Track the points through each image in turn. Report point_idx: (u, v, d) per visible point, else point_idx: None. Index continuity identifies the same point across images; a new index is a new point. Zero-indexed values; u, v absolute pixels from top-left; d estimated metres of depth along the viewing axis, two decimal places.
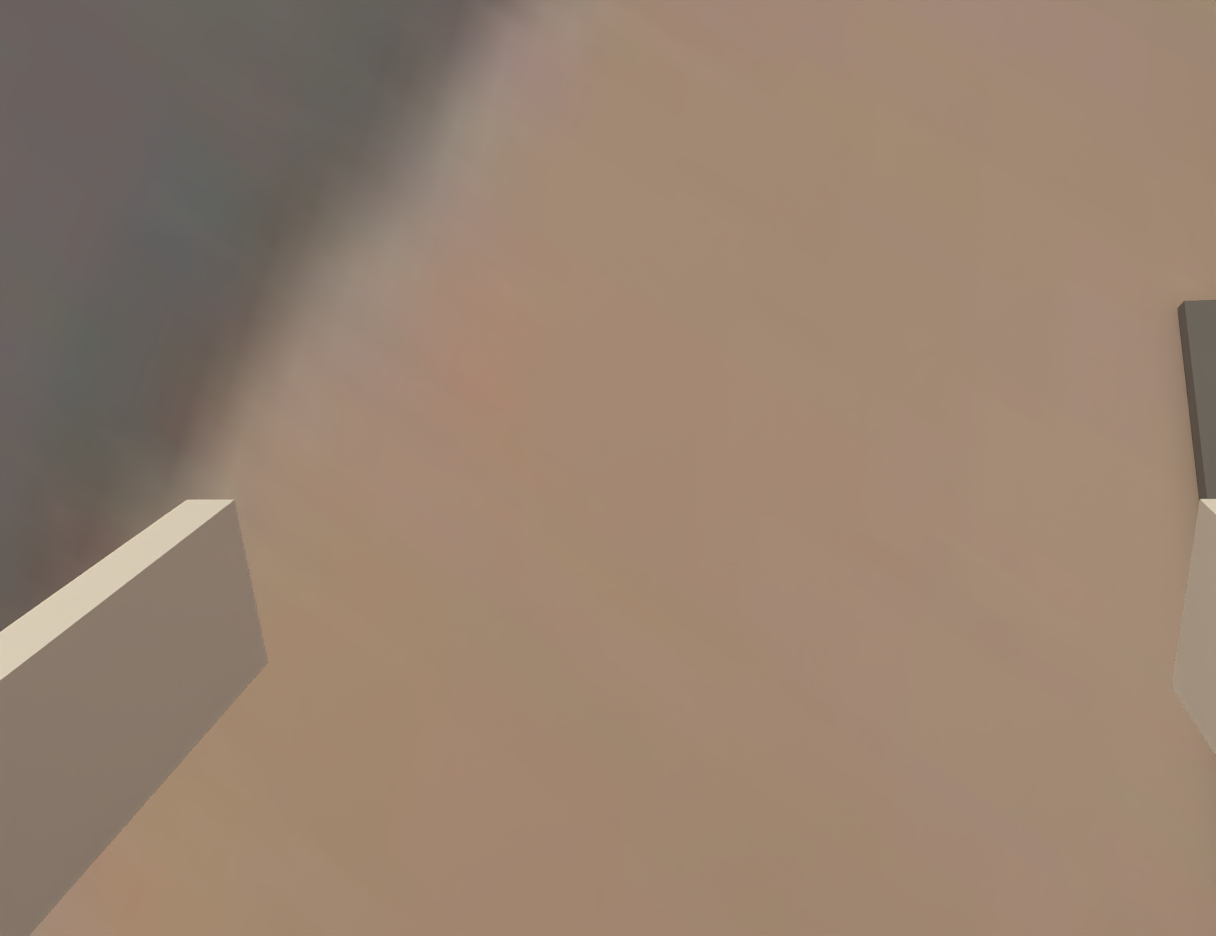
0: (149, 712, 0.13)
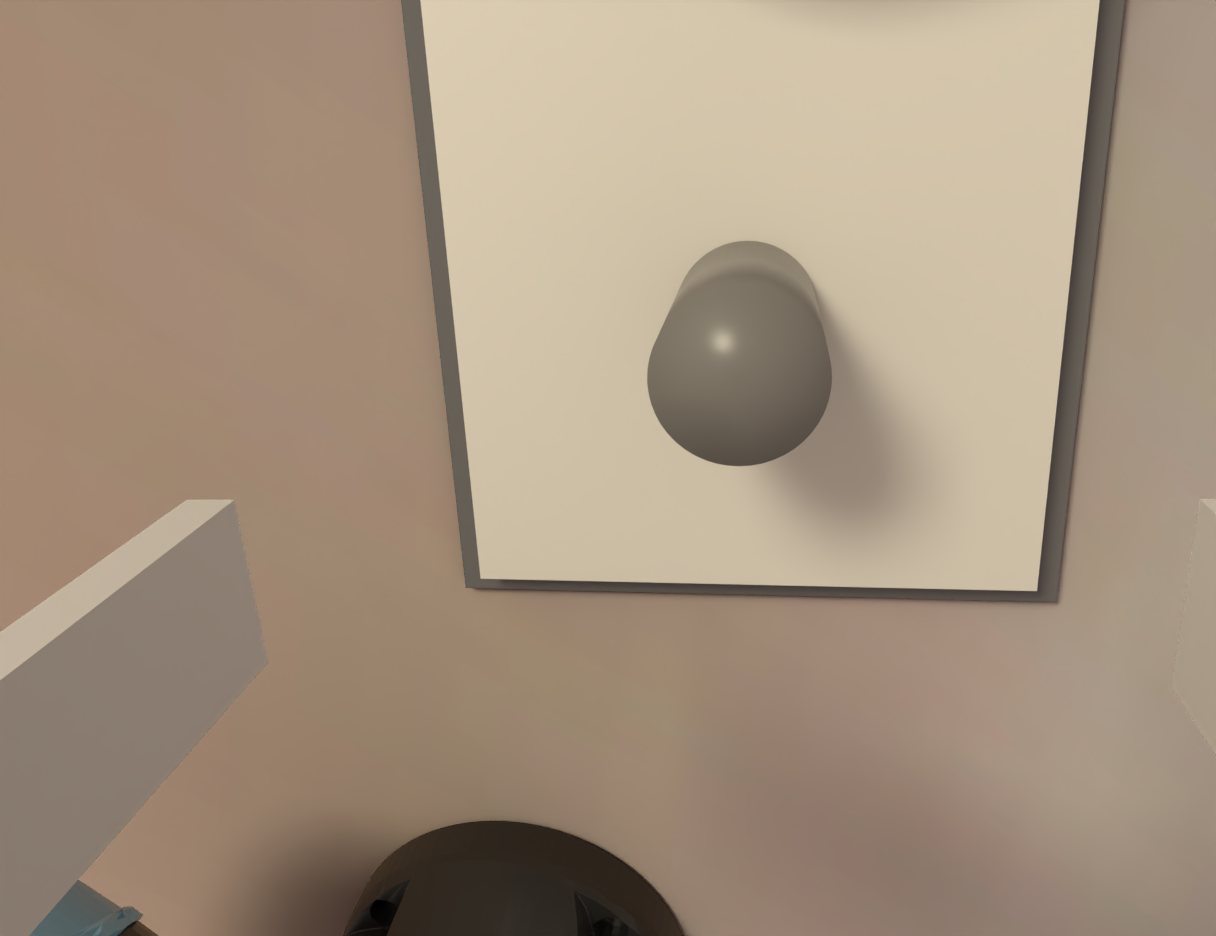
0: (149, 712, 0.13)
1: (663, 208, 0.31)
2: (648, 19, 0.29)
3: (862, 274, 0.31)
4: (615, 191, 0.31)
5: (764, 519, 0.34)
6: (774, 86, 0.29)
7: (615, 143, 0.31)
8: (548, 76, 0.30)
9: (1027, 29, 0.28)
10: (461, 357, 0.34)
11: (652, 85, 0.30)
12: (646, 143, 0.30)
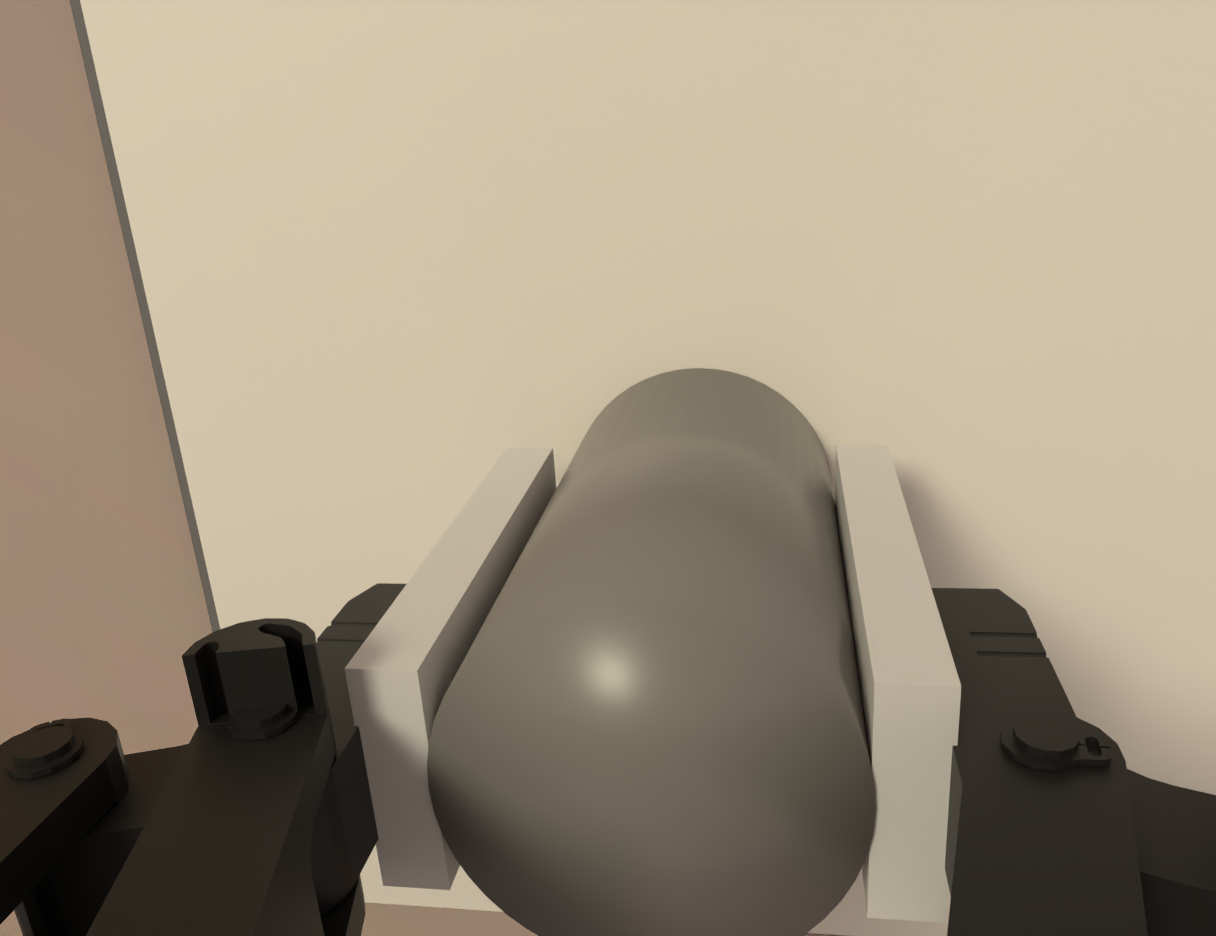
0: None
1: (542, 308, 0.17)
2: None
3: (916, 430, 0.16)
4: (452, 278, 0.17)
5: None
6: (742, 78, 0.15)
7: (446, 190, 0.16)
8: (312, 65, 0.16)
9: None
10: (211, 559, 0.19)
11: (508, 79, 0.15)
12: (503, 190, 0.16)
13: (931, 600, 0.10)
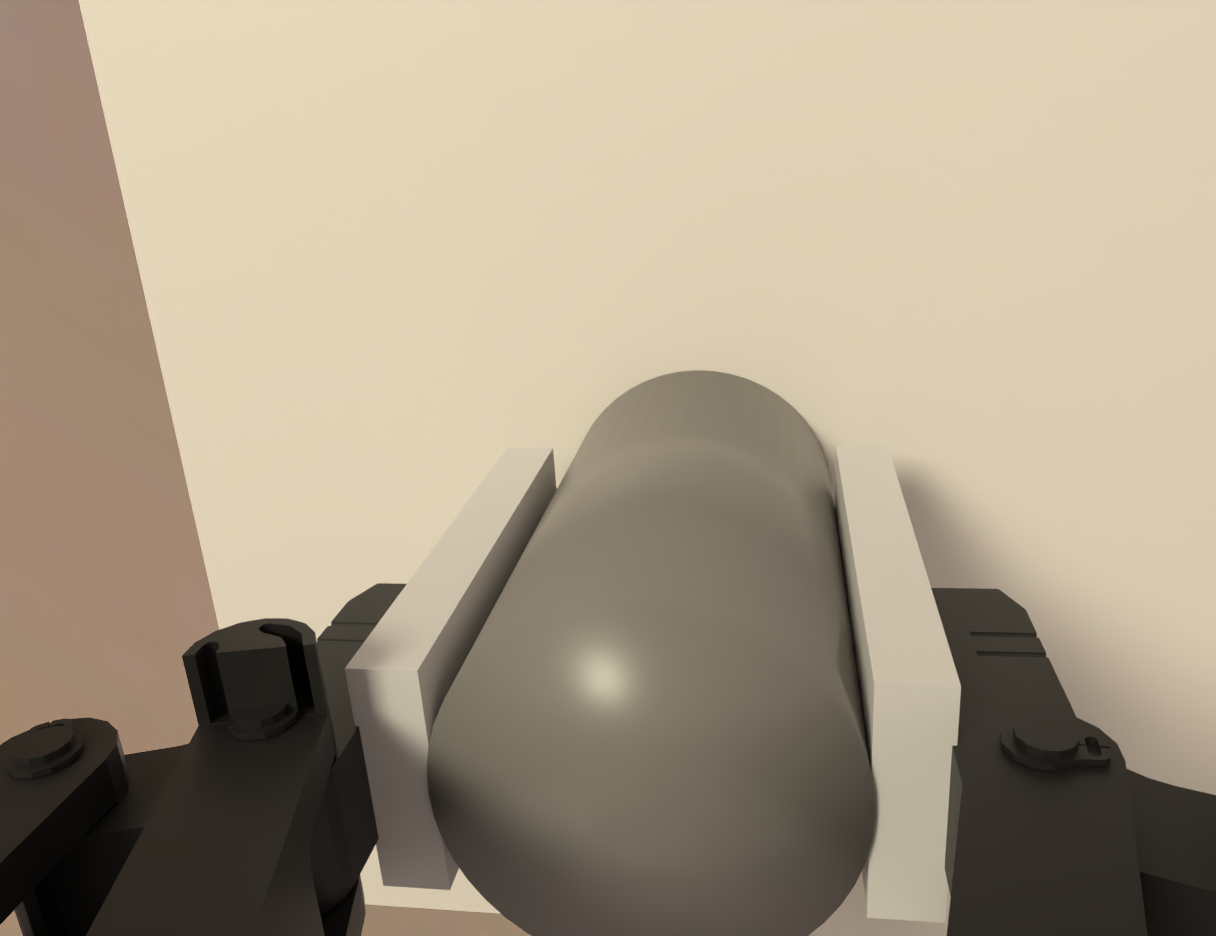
0: None
1: (542, 310, 0.17)
2: None
3: (916, 432, 0.16)
4: (452, 280, 0.17)
5: None
6: (742, 80, 0.15)
7: (445, 192, 0.16)
8: (312, 67, 0.16)
9: None
10: (211, 561, 0.19)
11: (507, 81, 0.15)
12: (503, 192, 0.16)
13: (931, 600, 0.10)
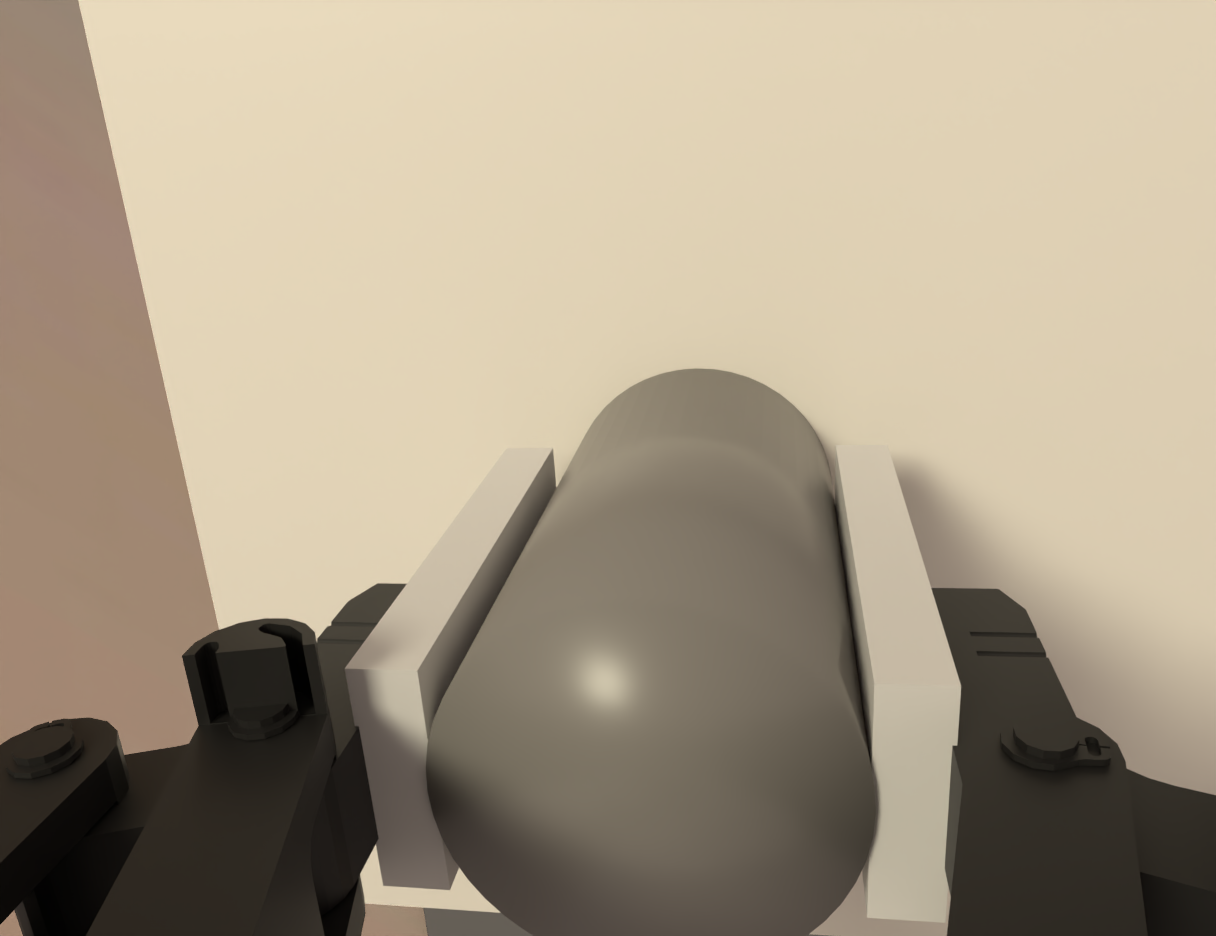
0: None
1: (541, 308, 0.17)
2: None
3: (917, 430, 0.16)
4: (451, 278, 0.17)
5: None
6: (742, 76, 0.15)
7: (445, 190, 0.16)
8: (311, 65, 0.16)
9: None
10: (210, 560, 0.19)
11: (507, 79, 0.15)
12: (502, 190, 0.16)
13: (931, 600, 0.10)
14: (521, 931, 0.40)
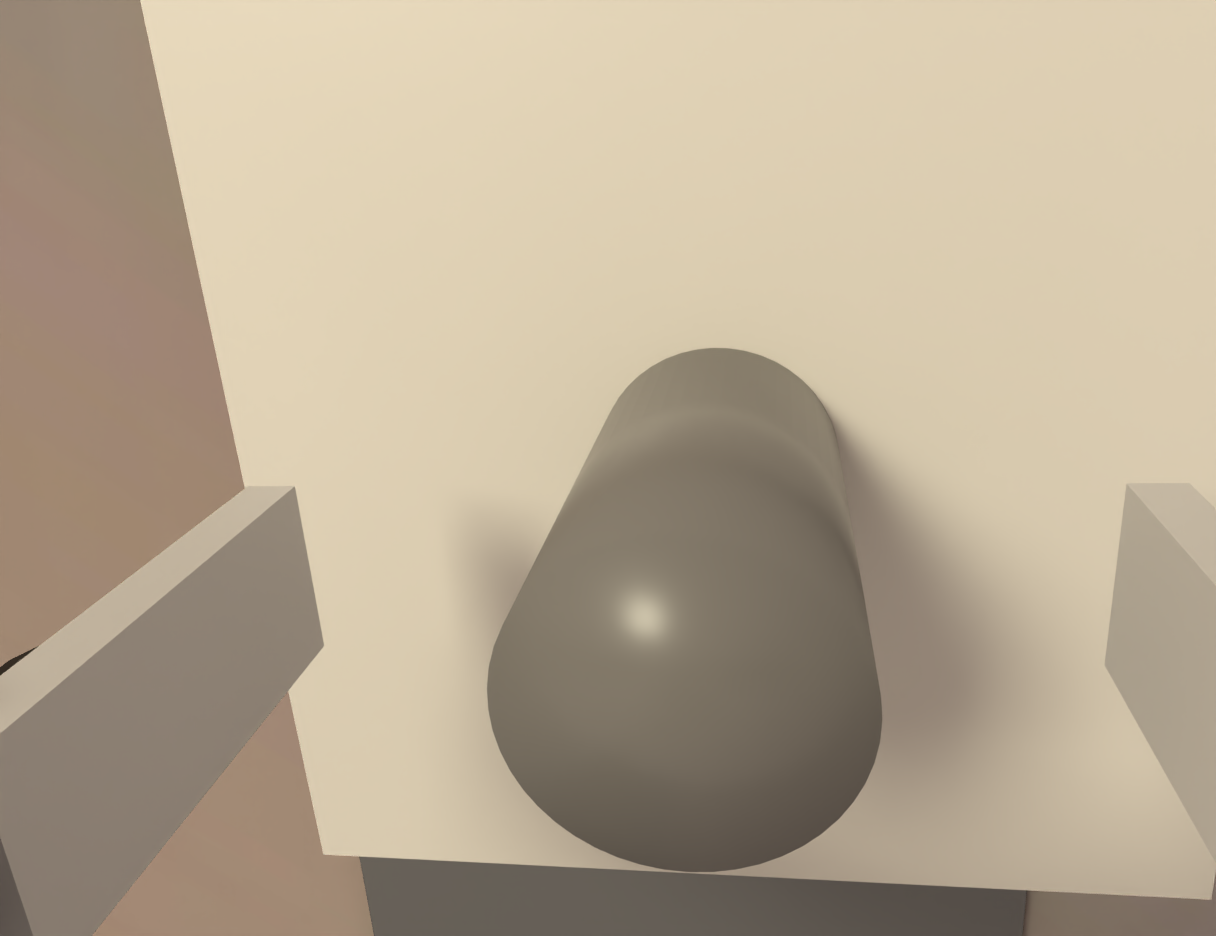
0: (221, 690, 0.13)
1: (570, 294, 0.18)
2: None
3: (917, 402, 0.18)
4: (486, 267, 0.18)
5: None
6: (753, 79, 0.16)
7: (481, 186, 0.18)
8: (358, 73, 0.17)
9: None
10: None
11: (538, 84, 0.17)
12: (534, 185, 0.17)
13: None
14: None
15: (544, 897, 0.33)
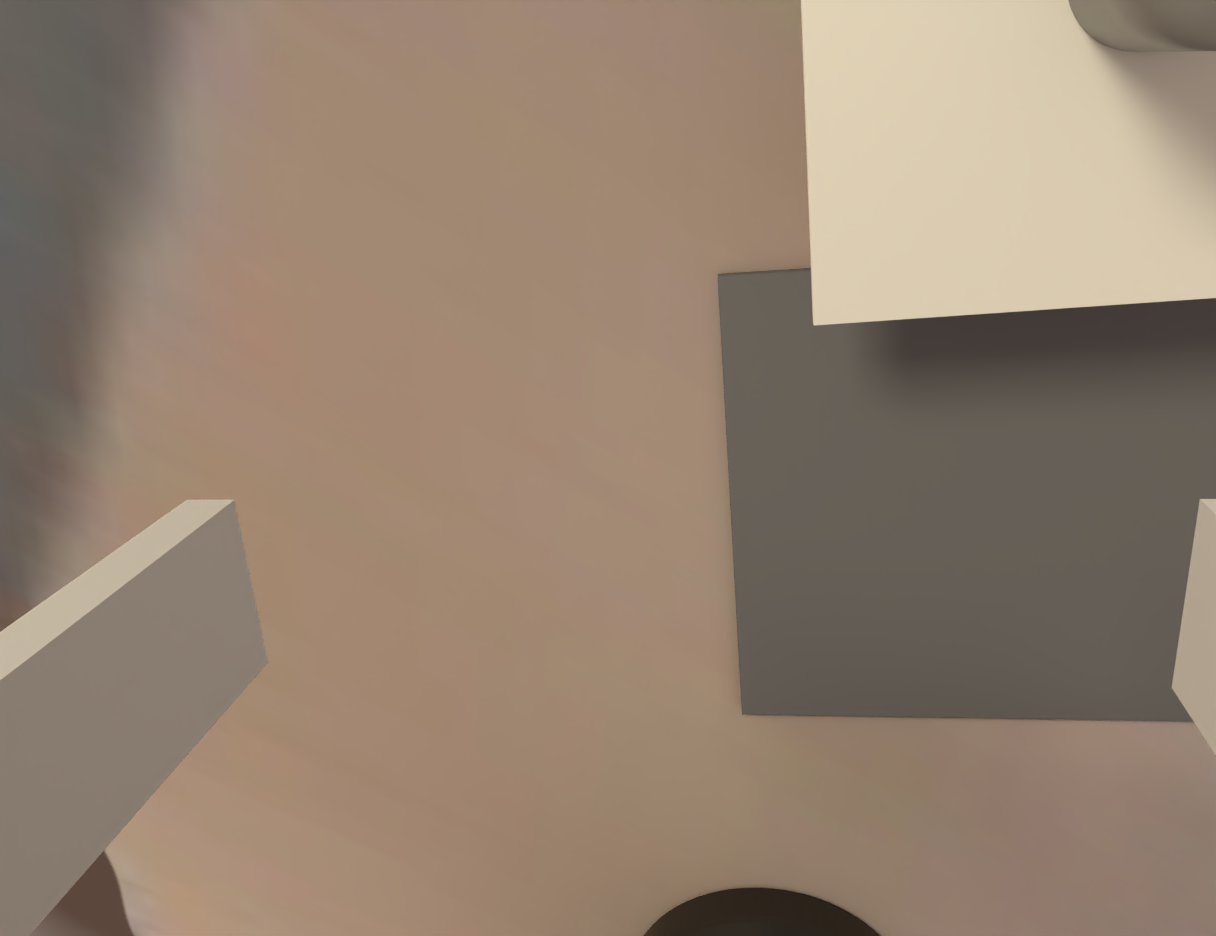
0: (149, 712, 0.13)
1: None
2: None
3: None
4: None
5: (1152, 221, 0.30)
6: None
7: None
8: None
9: None
10: (807, 58, 0.30)
11: None
12: None
13: None
14: (822, 589, 0.45)
15: (876, 466, 0.43)
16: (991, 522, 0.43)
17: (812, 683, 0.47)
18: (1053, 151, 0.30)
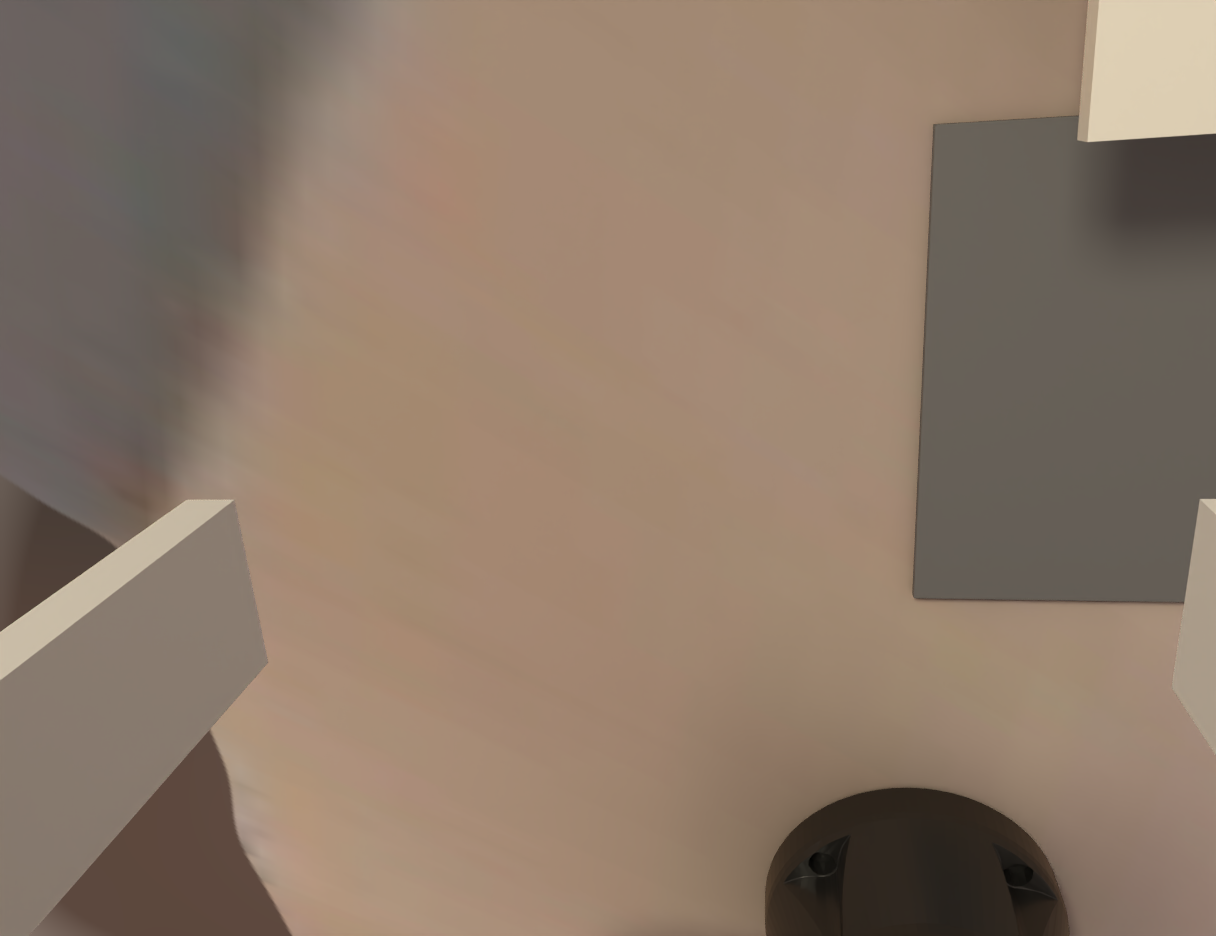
0: (149, 712, 0.13)
1: None
2: None
3: None
4: None
5: None
6: None
7: None
8: None
9: None
10: None
11: None
12: None
13: None
14: (1012, 462, 0.44)
15: (1081, 329, 0.42)
16: (1195, 390, 0.42)
17: (991, 564, 0.46)
18: None
